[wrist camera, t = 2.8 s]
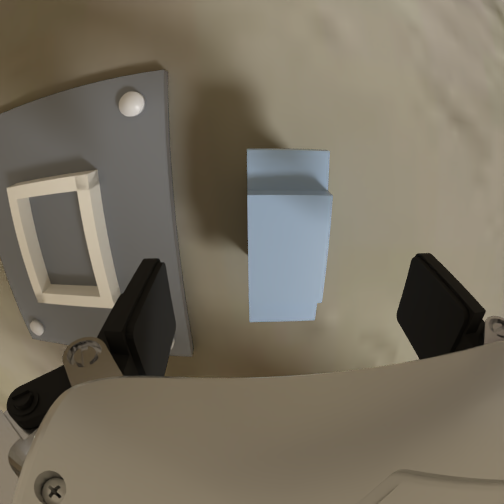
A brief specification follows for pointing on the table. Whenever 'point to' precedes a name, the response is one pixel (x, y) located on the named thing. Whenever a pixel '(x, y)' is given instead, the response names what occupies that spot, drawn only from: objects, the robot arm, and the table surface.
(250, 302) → the block
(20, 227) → the plate
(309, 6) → the table surface
